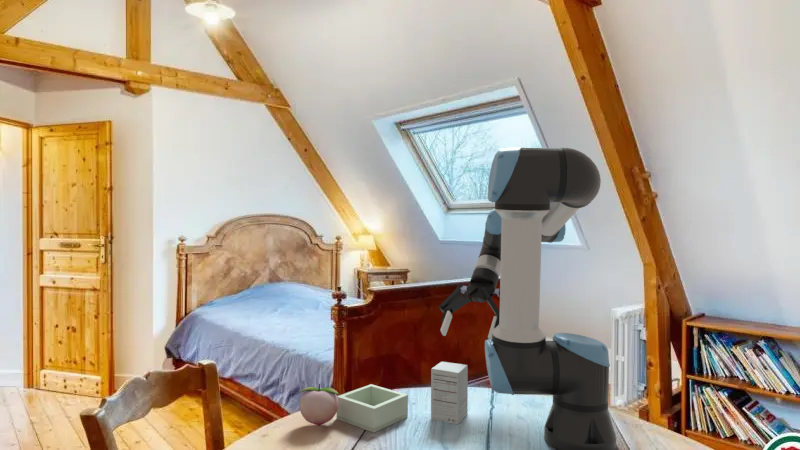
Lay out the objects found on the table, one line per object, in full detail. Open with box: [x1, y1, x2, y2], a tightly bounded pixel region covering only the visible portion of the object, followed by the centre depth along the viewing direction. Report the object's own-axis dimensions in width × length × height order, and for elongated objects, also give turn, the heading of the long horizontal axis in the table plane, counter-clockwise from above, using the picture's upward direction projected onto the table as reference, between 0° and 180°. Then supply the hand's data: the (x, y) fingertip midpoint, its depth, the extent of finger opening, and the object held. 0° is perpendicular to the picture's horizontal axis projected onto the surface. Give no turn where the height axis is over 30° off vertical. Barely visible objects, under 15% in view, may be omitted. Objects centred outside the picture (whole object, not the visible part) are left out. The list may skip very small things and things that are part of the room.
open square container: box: [336, 383, 409, 433], centre depth 127 cm, size 12×12×6 cm
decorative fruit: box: [299, 383, 340, 427], centre depth 121 cm, size 9×8×10 cm
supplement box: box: [430, 361, 469, 425], centre depth 128 cm, size 7×7×13 cm
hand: (466, 336), depth 137 cm, fingers open, 13 cm apart
